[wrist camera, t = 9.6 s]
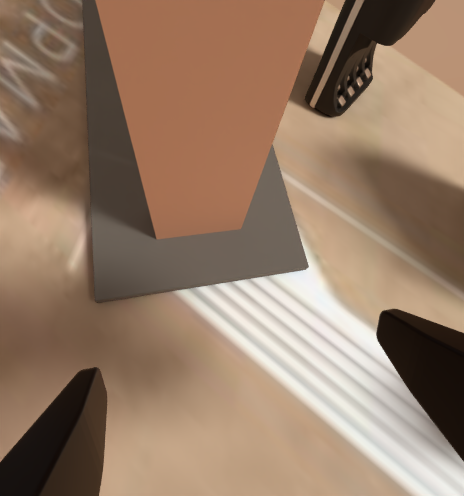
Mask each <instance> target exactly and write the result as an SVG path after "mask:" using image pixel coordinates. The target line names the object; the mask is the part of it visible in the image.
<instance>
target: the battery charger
mask: <svg viewBox="0 0 464 496" xmlns="http://www.w3.org/2000/svg"><path fill="white" fill-rule="evenodd" d="M434 2H435V0H345V2H344V5H343V7H342V10H341V12H340V14H339V17H338V19H337V22H336V24H335V26H334V29H333V31H332V34H331V36H330V39H329V41H328V44H327V46H326V49H325V51H324V54H323V56H322V59H321V61H320V63H319V66H318V68H317V71H316V73H315V75H314V78H313V80H312V82H311V84H310V87H309V89H308V91H307V94H306V96H305V100H306V102H308V103H309V104H310V106H311V107H313V108H316V109H318V110H319V111H321V112H323V113H325V114H327V115H330V116H333V117H336V116H340V115H342V114H343V113H344V112H345V111H346V110H347V109H348V108H349V107H350V106H351V105H352V104H353V102H354V101H355V100H356V99H357V98H358V97H359V96H360V95H361V94H362V92H363V91H364V90H365V89H366V88H367V87H368V86H369V84H370V83H371V81H372V79H373V76H372V65H373V55H374V51H375V47H376V44H377V43H378V44H381V45H384V46H391V45H393V44H394V43H396V42H397V41H398V40H399V39H401V38H402V37H403V36H404V35H405V34H406V33H407V32H408V31H409V30H410V29H411V28H412V26H413V25H414V24H415V23H416V22H417V21H418V19H419V18H420V17H421V16H422V15H423V14H425V13H426V12H427V11H428V9H429V8H430V7H431V6H432V5H433V3H434Z"/></svg>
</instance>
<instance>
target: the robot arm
mask: <svg viewBox="0 0 464 496" xmlns="http://www.w3.org/2000/svg"><path fill="white" fill-rule="evenodd" d="M376 335H377V339H378V342H379V344H380V345H381V347H382V348H383V350H384V351H385V353H386V355H387V356H388V358H389V359H390V361H391V363H392V364H393V366H394V367H395V369H396V370H397V372H398V374H399V375H400V377H401V378H402V380H403V381H404V383H405V384H406V386H407V387H408V389H409V390H410V392H411V393H412V394H413V396H414V397H415V399H416V400H417V401H418V402H419V404H420V405H421V406H422V408H423V409H424V410H425V412H426V413H427V414H428V416H429V417H430V418H431V419H432V421H433V422H434V423H435V425H436V426H437V427H438V429H439V430H440V431H441V433H442V434H443V435H444V436H445V438H446V439H447V440H448V442H449V443H450V444H451V446H452V447H453V448H454V449H455V451H456V452H457V453H458V455H459V456H460V457H461V459H462V460H463V461H464V333H462V332H459V331H456V330H454V329H451V328H448V327H445V326H443V325H440V324H437V323H434V322H432V321H429V320H426V319H423V318H421V317H418V316H415V315H412V314H410V313H407V312H404V311H401V310H399V309H389V310H384V311H382V312H381V314H380V316H379V322H378V327H377V333H376ZM106 414H107V391H106V388H105V384H104V381H103V378H102V374H101V371H100V369H99V368H97V367H94V368H89V369H83V370H81V371H79V372H78V373H77V374H76V375H75V376H74V378H73V379H72V380H71V381H70V382H69V383H68V385H67V386H66V387H65V388H64V389H63V390H62V391H61V393H60V394H59V395H58V396H57V397H56V398H55V400H54V401H53V402H52V403H51V404H50V405H49V406H48V408H47V409H46V410H45V411H44V412H43V413H42V415H41V416H40V417H39V418H38V419H37V420H36V421H35V423H34V424H33V425H32V426H31V427H30V428H29V430H28V431H27V432H26V433H25V434H24V435H23V436H22V438H21V439H20V440H19V441H18V442H17V443H16V445H15V446H14V447H13V448H12V449H11V450H10V451H9V453H8V454H7V455H6V456H5V457H4V458H3V460H2V461H1V462H0V496H99V492H100V486H101V480H102V472H103V463H104V448H105V431H106Z"/></svg>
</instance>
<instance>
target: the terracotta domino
mask: <svg viewBox="0 0 464 496" xmlns="http://www.w3.org/2000/svg"><path fill="white" fill-rule="evenodd" d="M95 1H96V5H97V9H98V13H99V16H100V20H101V24H102V28H103V32H104V36H105V40H106V44H107V48H108V52H109V56H110V59H111V63H112V67H113V71H114V75H115V79H116V83H117V87H118V91H119V95H120V98H121V102H122V106H123V110H124V114H125V118H126V122H127V126H128V130H129V134H130V138H131V141H132V145H133V149H134V153H135V157H136V161H137V165H138V169H139V173H140V177H141V180H142V184H143V188H144V192H145V196H146V200H147V204H148V208H149V212H150V216H151V220H152V223H153V227H154V231H155V235H156V239H165V238H173V237H181V236H189V235H197V234H206V233H214V232H222V231H230V230H238V229H241V228H242V225H243V222H244V220H245V217H246V214H247V211H248V209H249V206H250V203H251V200H252V198H253V195H254V192H255V189H256V187H257V184H258V181H259V179H260V176H261V173H262V170H263V168H264V165H265V162H266V159H267V157H268V154H269V151H270V148H271V146H272V143H273V140H274V138H275V135H276V132H277V129H278V127H279V124H280V121H281V118H282V116H283V113H284V110H285V107H286V105H287V102H288V99H289V97H290V94H291V91H292V88H293V86H294V83H295V80H296V77H297V75H298V72H299V69H300V67H301V64H302V61H303V58H304V56H305V53H306V50H307V47H308V45H309V42H310V39H311V36H312V34H313V31H314V28H315V26H316V23H317V20H318V17H319V15H320V12H321V9H322V6H323V4H324V1H325V0H95Z"/></svg>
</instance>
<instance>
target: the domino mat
mask: <svg viewBox="0 0 464 496" xmlns="http://www.w3.org/2000/svg"><path fill="white" fill-rule="evenodd" d="M83 23H84V48H85V72H86V97H87V121H88V146H89V170H90V195H91V220H92V244H93V269H94V293H95V301H96V302H97V303H101V302H107V301H113V300H119V299H126V298H132V297H138V296H144V295H151V294H157V293H163V292H169V291H176V290H182V289H188V288H194V287H201V286H207V285H213V284H219V283H226V282H232V281H238V280H244V279H251V278H257V277H263V276H270V275H276V274H282V273H288V272H295V271H301V270H306V269H307V268H308V267H309V266H308V262H307V259H306V256H305V252H304V249H303V246H302V242H301V239H300V236H299V232H298V229H297V225H296V222H295V219H294V215H293V212H292V209H291V205H290V202H289V198H288V195H287V192H286V188H285V185H284V182H283V178H282V175H281V171H280V168H279V165H278V161H277V158H276V155H275V151H274V148H273V144H272V146H271V148H270V151H269V154H268V157H267V159H266V162H265V165H264V168H263V170H262V173H261V176H260V179H259V181H258V184H257V187H256V189H255V192H254V195H253V198H252V200H251V203H250V206H249V209H248V211H247V214H246V217H245V220H244V222H243V225H242V228H241V229H238V230H230V231H222V232H214V233H206V234H197V235H189V236H181V237H173V238H165V239H156V235H155V231H154V227H153V223H152V220H151V216H150V212H149V208H148V204H147V200H146V196H145V192H144V188H143V184H142V180H141V177H140V173H139V169H138V165H137V161H136V157H135V153H134V149H133V145H132V141H131V138H130V134H129V130H128V126H127V122H126V118H125V114H124V110H123V106H122V102H121V98H120V95H119V91H118V87H117V83H116V79H115V75H114V71H113V67H112V63H111V59H110V56H109V52H108V48H107V44H106V40H105V36H104V32H103V28H102V24H101V20H100V16H99V13H98V9H97V5H96V1H95V0H83Z"/></svg>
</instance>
